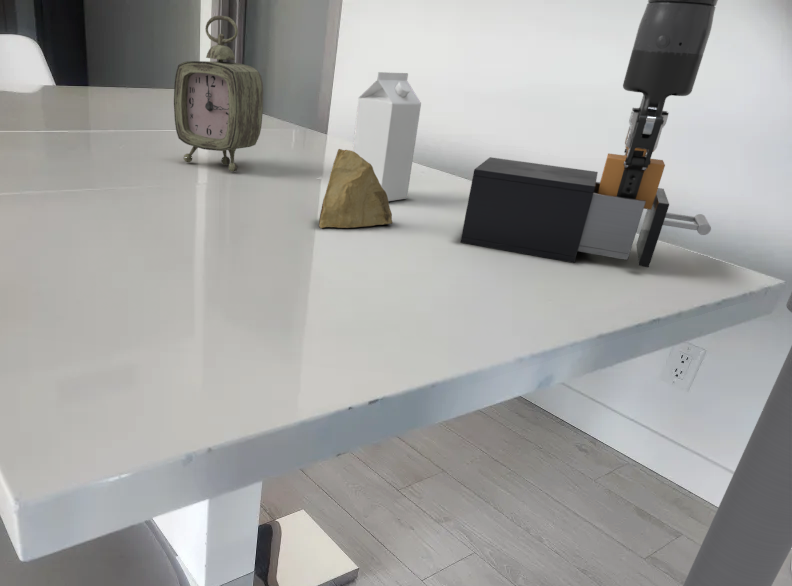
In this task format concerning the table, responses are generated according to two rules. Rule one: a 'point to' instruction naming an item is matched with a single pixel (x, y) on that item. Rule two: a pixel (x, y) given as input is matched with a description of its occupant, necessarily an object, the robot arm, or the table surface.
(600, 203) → the drawer
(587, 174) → the black drawer cabinet
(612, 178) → the cardboard box
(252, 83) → the tabletop clock
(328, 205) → the rock
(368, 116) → the milk carton
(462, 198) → the table surface
